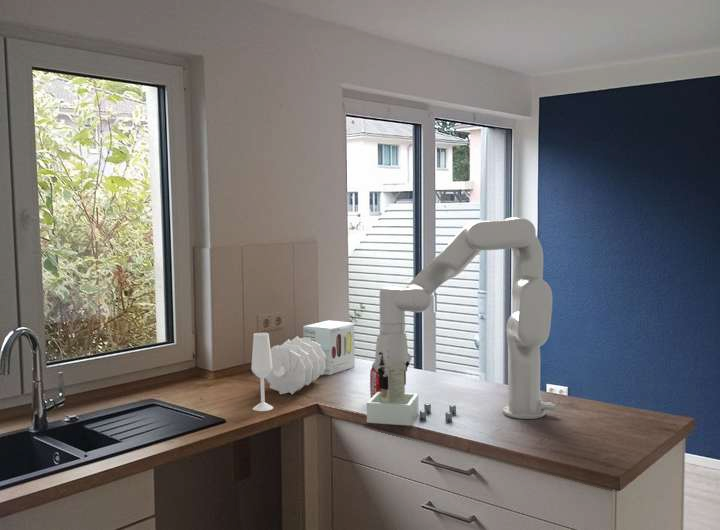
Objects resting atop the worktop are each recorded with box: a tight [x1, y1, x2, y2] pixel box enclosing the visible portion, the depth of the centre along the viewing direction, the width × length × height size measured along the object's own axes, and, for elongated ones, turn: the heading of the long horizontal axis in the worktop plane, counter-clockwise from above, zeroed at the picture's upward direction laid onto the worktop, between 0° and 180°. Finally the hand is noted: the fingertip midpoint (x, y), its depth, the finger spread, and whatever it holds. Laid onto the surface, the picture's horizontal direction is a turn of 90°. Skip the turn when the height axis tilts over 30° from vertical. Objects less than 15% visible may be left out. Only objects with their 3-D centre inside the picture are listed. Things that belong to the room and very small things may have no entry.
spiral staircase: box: [264, 335, 326, 395], centre depth 255 cm, size 18×18×25 cm
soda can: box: [369, 365, 381, 399], centre depth 237 cm, size 7×7×12 cm
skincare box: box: [381, 362, 406, 403], centre depth 218 cm, size 6×4×12 cm
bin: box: [366, 392, 420, 426], centre depth 219 cm, size 13×13×6 cm
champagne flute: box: [250, 332, 274, 412], centre depth 231 cm, size 7×7×24 cm
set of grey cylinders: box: [419, 403, 457, 423], centre depth 219 cm, size 10×10×2 cm
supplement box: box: [302, 319, 356, 376], centre depth 284 cm, size 17×13×18 cm
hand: (392, 386), depth 218 cm, fingers closed on skincare box, 7 cm apart
